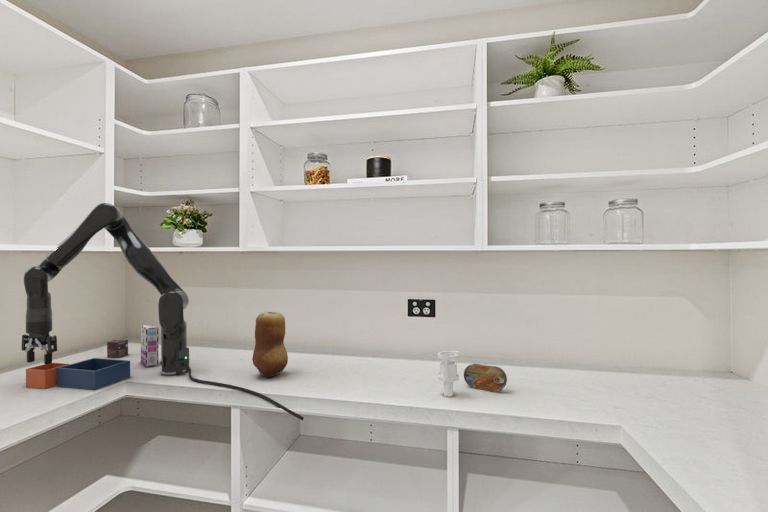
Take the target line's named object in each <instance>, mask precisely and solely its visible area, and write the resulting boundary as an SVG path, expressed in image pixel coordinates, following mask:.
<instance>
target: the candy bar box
mask: <svg viewBox="0 0 768 512" xmlns="http://www.w3.org/2000/svg"><path fill="white" fill-rule="evenodd" d="M140 363H141V364H142V365H143V366H145V367H146V368H150V367H156V366H159V326H156V325H154V324H144V325H141V326H140Z"/></svg>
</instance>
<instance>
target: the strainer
mask: <svg viewBox="0 0 768 512" xmlns="http://www.w3.org/2000/svg"><path fill="white" fill-rule="evenodd" d="M437 358H438V359H440V361H439V373H438V374H437V379H438V380H439V381H442V382H443V395H444V396H445V397H453V396H454V382H458V381H460V375H459V373H458V364H457V363H459V362H460V350H450V351H448V350H444V351H439V352H437Z"/></svg>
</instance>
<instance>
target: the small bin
mask: <svg viewBox="0 0 768 512" xmlns="http://www.w3.org/2000/svg"><path fill="white" fill-rule="evenodd" d="M70 364H71V363H62V362H52V363H50V364H41V365H37V366H33V367H29V368H26V369H25V387H26V388H31V389H32V388H33V389H34V388H35V389H44V390H45V389H49V388H53V387H55V386H56V387H57V368H59V367H63V366H66V365H70Z"/></svg>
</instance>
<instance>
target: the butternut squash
mask: <svg viewBox="0 0 768 512" xmlns="http://www.w3.org/2000/svg"><path fill="white" fill-rule="evenodd" d="M254 327H255V328H254V341H255V343H254V348H253V353H252V365H253V367H255V368H256V369H257V370H258V372H259V374H260V375H262V376H263V377H264V378H266V379H269V378H272V377H274V376H276V375H278V374H280V373H282V372H283V371H284V370H285V368H286V367H287V365H288V362H289V355H288V351H287V349H286V346H285V343H284V342H285V337H286V318H285V316H284V315H283V314H282V313H280V312H278V311H261V312H260V313H259V314H258V315H257V317H256V318H255V325H254Z"/></svg>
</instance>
